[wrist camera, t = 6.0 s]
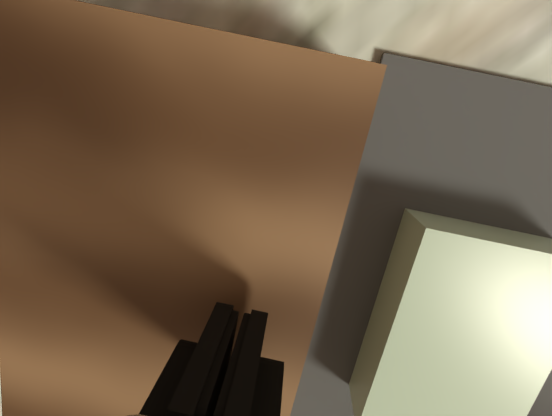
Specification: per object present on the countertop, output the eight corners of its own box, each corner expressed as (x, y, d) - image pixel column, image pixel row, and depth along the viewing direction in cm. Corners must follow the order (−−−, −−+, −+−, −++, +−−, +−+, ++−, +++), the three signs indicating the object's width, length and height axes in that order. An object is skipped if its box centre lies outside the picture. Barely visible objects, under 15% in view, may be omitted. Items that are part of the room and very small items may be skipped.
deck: (269, 435, 18) (259, 525, 14) (69, 389, 18) (4, 464, 14) (361, 79, 12) (386, 65, 9) (78, 20, 13) (-19, -19, 9)
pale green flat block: (356, 430, 14) (348, 384, 16) (501, 463, 13) (472, 411, 16) (426, 228, 11) (405, 208, 13) (606, 265, 11) (553, 239, 13)
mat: (495, 503, 18) (498, 510, 17) (274, 451, 18) (274, 457, 18) (711, 121, 12) (721, 122, 12) (382, 54, 12) (384, 52, 12)
